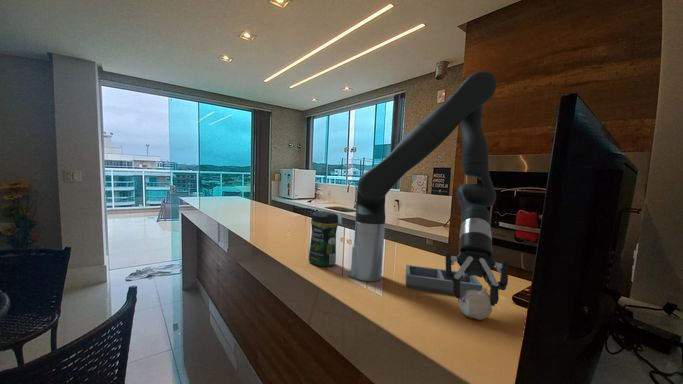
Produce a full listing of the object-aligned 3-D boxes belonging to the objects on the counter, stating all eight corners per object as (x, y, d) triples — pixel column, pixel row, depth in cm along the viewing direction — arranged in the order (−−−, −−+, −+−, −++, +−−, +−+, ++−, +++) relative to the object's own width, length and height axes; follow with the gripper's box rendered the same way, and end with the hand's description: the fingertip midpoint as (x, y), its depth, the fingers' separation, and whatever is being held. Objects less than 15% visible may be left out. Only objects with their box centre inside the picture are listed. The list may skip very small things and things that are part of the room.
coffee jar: (304, 262, 94) (307, 210, 94) (320, 258, 100) (323, 209, 100) (323, 269, 88) (326, 213, 87) (339, 264, 94) (342, 212, 93)
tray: (405, 287, 76) (406, 275, 76) (405, 275, 87) (406, 264, 87) (481, 298, 72) (482, 285, 71) (471, 284, 82) (472, 273, 82)
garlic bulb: (460, 321, 58) (463, 285, 58) (454, 308, 64) (457, 276, 64) (493, 326, 57) (496, 289, 56) (484, 312, 63) (487, 279, 63)
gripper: (446, 227, 70) (441, 286, 59) (510, 234, 64) (516, 301, 54) (445, 243, 75) (440, 300, 64) (504, 251, 69) (509, 315, 59)
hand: (475, 300), depth 59 cm, fingers closed on garlic bulb, 6 cm apart
